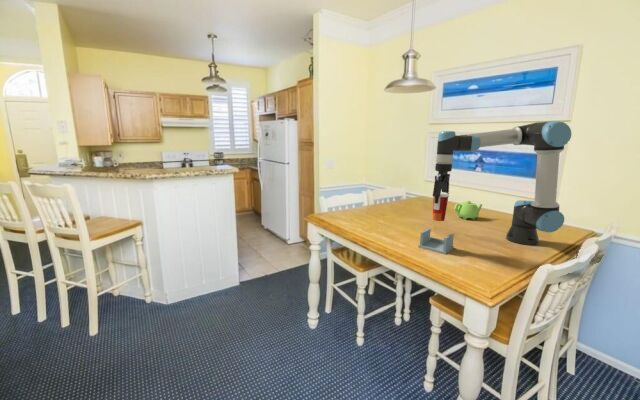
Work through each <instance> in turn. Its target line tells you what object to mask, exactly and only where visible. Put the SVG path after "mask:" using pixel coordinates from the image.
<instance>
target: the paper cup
mask: <svg viewBox="0 0 640 400" xmlns="http://www.w3.org/2000/svg"><path fill="white" fill-rule="evenodd" d="M448 193H449V192H448ZM448 193H445V192H442V191H441V193H440V197H441V198H440V208H439V210H436V209H433V208H434V197H435V196H433V195H432V200H433V201H432V220H433V221H435V222H436V221H437V222H444V221H445V219H446V215H447V214H446V212H447V208H448V200H449V197H450V195H448ZM436 194H437V193H436Z"/></svg>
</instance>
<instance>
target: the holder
mask: <svg viewBox="0 0 640 400" xmlns="http://www.w3.org/2000/svg"><path fill="white" fill-rule="evenodd" d="M431 230H432V228H429V227H428V228H426V229H425V230H423V231H421V232H420V237H419V244H418V246H417V248H421V249H422V250H423V249H424V250H426V251H427V250H428V251H430V252H431V251H432V252H435V253H438V254H443V255H446V254H448V253H449V252H450V251H452V250H454V247H455V246H454V237H455V236H454V235H455V233H451V232H450V234H448V235H446V236H445V237H443V238H444V239H442V238H441V239H440V238H436V237H432V236H431V232H432V231H431Z"/></svg>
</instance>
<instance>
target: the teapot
mask: <svg viewBox="0 0 640 400" xmlns="http://www.w3.org/2000/svg"><path fill="white" fill-rule="evenodd" d="M482 207H483V204H482V203H479V204H478V205H477V204H476V203H473V202H472V201H470V200H466V201H465V202H460V203H455V205H454V208H453V211H454V212H456V215H457V216H458V218H463V220H465V221H466V220H467V219H470V220H473V221H475V220H476V218H478V217H479V215H480V211H481V210H482Z"/></svg>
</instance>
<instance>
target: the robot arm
mask: <svg viewBox="0 0 640 400" xmlns="http://www.w3.org/2000/svg"><path fill="white" fill-rule="evenodd" d="M571 138H572V129H571V127H570V126H569V125H568V124H567V123H566V122H564V121H558V120H551V121H541V122H533V123H529V124H524V125H520V126H519V125H518V126H513V127H512V129H511V128H509V129H502V130H493V131H486V132H478V133H477V132H476V133H467V134H459V135H457V134H456V132H455V131H453V130H449V131H448V130H446V131H445V130H444V131H443V130H442V131H439V133H438V137H437V146H436V148H437V149H436V155H435V158H436V160H435V162H436V163H435V165H434V166H435V167H434V168H435V171H436V172H438V173H437V175H434V185H433V191H432V197H433V196H435V197H434V208H433V207H432V210H433V209H436V210H439V208H440V198H441V197H440V193H441V192H445V193H448V195H449V194H450V177H451V174H450V173H448V172H452V169H453V164H452V163H453V158H454V152H470V153H471V152H477V151H479V149H480V148H485V147H486V148H487V147H494V146H503V145H514V146H521V145H523V146H533V152H535V153H536V154H537V156H536V157H537V158H536V170H535V171H536V173H535V189H534V190H535V191H534V200H526V199H525V200H524V199H522V200H516V201H515V203H514V204H513V213H512V218H511V220H512V221H511V226H510V227H509V229H508V231H507V233H506V236H505V239H506V240H508V241H509V242H511V243H514V244H520V245H527V246H534V245H535V246H536V245H538V244H539V236H538V235H539V234H538V231H540V232H544V233H553V232H557V231H558V230H559V229H560V228H561V227H562V226H563V225H564V224H565V216H564V214H563V213H562V212H561V211H560V204H559V203H558V202H557V194H558V193H557V190H558V189H557V188H558V179H559V178H558V176H559V166H560V165H559V164H560V153H561V152H563V151H564V150H565V145H567V144H568V142H570V140H571ZM436 193H437V194H436ZM449 196H450V195H449ZM537 230H538V231H537Z"/></svg>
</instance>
